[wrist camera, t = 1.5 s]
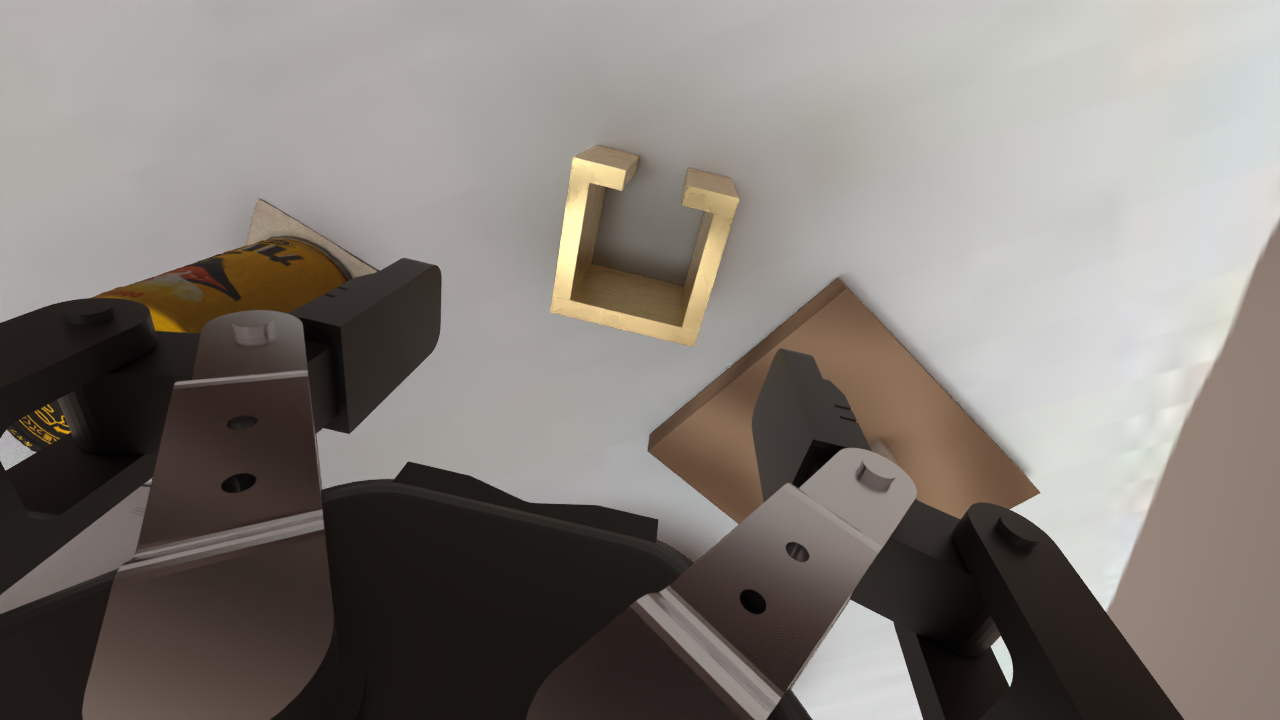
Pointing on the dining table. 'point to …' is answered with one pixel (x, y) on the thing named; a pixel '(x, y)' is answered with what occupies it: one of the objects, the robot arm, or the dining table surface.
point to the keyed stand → (878, 396)
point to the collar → (627, 294)
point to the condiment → (225, 292)
